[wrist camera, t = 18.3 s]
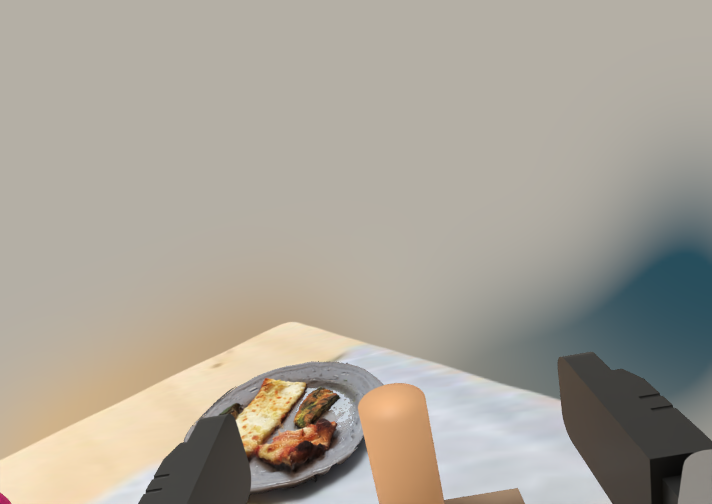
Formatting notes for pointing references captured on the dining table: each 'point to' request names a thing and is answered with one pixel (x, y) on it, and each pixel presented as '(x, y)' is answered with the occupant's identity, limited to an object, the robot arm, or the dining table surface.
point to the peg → (400, 445)
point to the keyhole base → (490, 498)
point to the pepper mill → (4, 499)
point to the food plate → (295, 421)
